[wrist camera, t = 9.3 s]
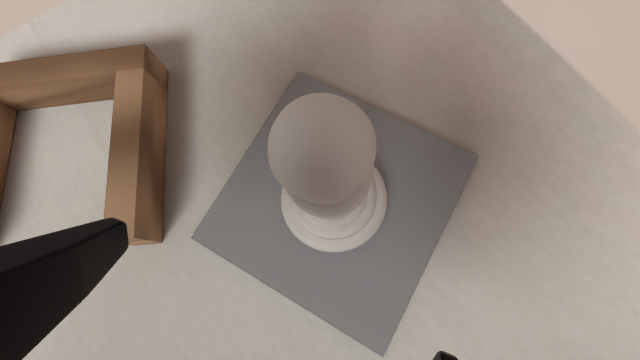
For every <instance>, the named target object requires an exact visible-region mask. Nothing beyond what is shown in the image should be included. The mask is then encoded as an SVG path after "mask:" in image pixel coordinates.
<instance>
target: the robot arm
mask: <svg viewBox="0 0 640 360" xmlns="http://www.w3.org/2000/svg"><path fill="white" fill-rule="evenodd" d="M128 245H129V240H128V231H127V225H126V223H125V222H124V221H121V220H119V219H116V218H106V219H102V220H99V221H95V222H91V223H87V224H83V225H80V226H76V227H72V228H68V229H64V230H61V231H57V232H53V233H49V234H45V235H41V236H38V237H34V238H30V239H26V240H22V241H19V242H15V243H11V244H7V245H3V246H0V360H22V359H23V358H24V357H25V356H26V355H27V354H28V353H29V352H30V351H31V350H32V349H33V348H34V347H35V346H37V345H38V344H39V343H40V342H41V341H42V340H43V339H44V338H45V337H46V336H47V335H48V334H49V333H50V332H51V331H52V330H53V329H54V328H55V327H56V326H57V325H58V324H59V323H60V322H61V321H62V320H63V319H64V318H65V317H66V316H67V315H68V314H69V313H70V312H71V311H72V310H73V309H74V308H75V307H77V306H78V305H79V304H80V303H81V302H82V301H83V300H84V299H85V298H86V296H87V295H88V294H89V293H90V292H91V291H92V290H93V289H94V288H95V287H96V285H97V284H98V283H99V282H100V281H101V280H102V278H103V277H104V276H105V275H106V274H107V273H108V271H109V270H110V269H111V268H112V267H113V266H114V264H115V263H116V262H117V261H118V260H119V259H120V257H121V256H122V255H123V254H124V253H125V251H126V250H127V248H128ZM433 360H458V359H457V358H456V357H455V356H453V355H451V354H448V353H446V352H444V351H439V352H438V353H437V354H436V356H435V357H434V359H433Z"/></svg>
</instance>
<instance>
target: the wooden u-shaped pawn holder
mask: <svg viewBox="0 0 640 360" xmlns="http://www.w3.org/2000/svg"><path fill="white" fill-rule="evenodd" d="M167 89H168V70H167V69H166V68H165V67H164V66H163V65H162V63H161V62H160V61H159V60H158V59H157V58H156V56H155V55H154V54H153V53H152V52H151V51H150V50H149V48H148V47H147V46H146V45H145V44H143V45H135V46H128V47H120V48H112V49H104V50H96V51H89V52H81V53H73V54H65V55H58V56H50V57H42V58H34V59H27V60H19V61H11V62H3V63H0V207H1V201H2V195H3V189H4V184H5V178H6V172H7V166H8V160H9V155H10V149H11V143H12V137H13V131H14V125H15V120H16V114H17V111H21V110H29V109H37V108H45V107H53V106H61V105H70V104H78V103H86V102H94V101H102V100H110V99H114V104H113V115H112V127H111V139H110V151H109V163H108V175H107V186H106V198H105V210H104V219H106V218H116V219H119V220H121V221H124V222H125V223H126V225H127V231H128V240H129V245H144V244H154V243H162V230H163V202H164V174H165V145H166V117H167Z"/></svg>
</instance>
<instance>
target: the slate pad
mask: <svg viewBox="0 0 640 360" xmlns="http://www.w3.org/2000/svg"><path fill="white" fill-rule="evenodd" d="M313 93H330V94H335V95H338V96H341V97H344V98H346V99H348V100H350V101H351V102H353V103H354V104H356V105H357V106H358V107H360V108H361V109H362V110H363V111H364V112H365V114H366V115H367V116H368V118H369V119H370V121H371V123H372V125H373V128H374V131H375V135H376V145H377V147H376V157H375V161H374V167H375V168H376V169H377V170H378V172H379V173H380V175H381V177H382V179H383V181H384V184H385V187H386V192H387V209H386V213H385V217H384V219H383V222H382V224H381V226H380V227H379V229H378V230H377V232H376V233H375V234H374V235H373V236H372V237H371V238H370V239H369V240H368V241H367V242H365V243H364V244H362V245H360V246H359V247H357V248H354V249H352V250H348V251H344V252H337V253H336V252H323V251H319V250H316V249H313V248H311V247H309V246H307V245H306V244H304V243H302V242H301V241H300V240H299V239H298V238H297V237H296V236H295V235H294V234H293V233H292V232H291V230H290V229H289V228H288V226H287V224H286V222H285V219H284V217H283V213H282V209H281V193H282V188H283V186H282V185H281V184H280V183H279V182H278V180H277V179H276V178H275V176H274V174H273V172H272V170H271V168H270V165H269V160H268V140H269V135H270V131H271V128H272V126H273V124H274V122H275V120H276V118H277V117H278V115H279V114H280V112H281V111H282V110H283V109H284V108H285V107H286V106H287V105H288V104H289V103H291V102H292V101H294V100H295V99H297V98H299V97H301V96H304V95H308V94H313ZM478 157H479V156H478V155H476V154H474V153H472V152H470V151H468V150H465V149H463V148H461V147H459V146H457V145H455V144H453V143H450V142H448V141H446V140H444V139H442V138H440V137H437V136H435V135H433V134H431V133H429V132H427V131H425V130H422V129H420V128H418V127H416V126H414V125H412V124H410V123H407V122H405V121H403V120H401V119H399V118H397V117H395V116H392V115H390V114H388V113H386V112H384V111H382V110H379V109H377V108H375V107H373V106H371V105H369V104H367V103H364V102H362V101H360V100H358V99H356V98H354V97H352V96H349V95H347V94H345V93H343V92H341V91H339V90H337V89H334V88H332V87H330V86H328V85H326V84H324V83H321V82H319V81H317V80H315V79H313V78H311V77H309V76H306V75H304V74H302V73H300V72H298V73H297V75H296V76H295V78H294V79H293V81H292V83H291V84H290V86H289V87H288V89H287V90H286V92H285V93H284V95H283V96H282V98H281V100H280V101H279V103H278V104H277V106H276V107H275V109H274V110H273V112H272V113H271V115H270V117H269V118H268V120H267V121H266V123H265V124H264V126H263V127H262V129H261V130H260V132H259V134H258V135H257V137H256V138H255V140H254V141H253V143H252V144H251V146H250V147H249V149H248V151H247V152H246V154H245V155H244V157H243V158H242V160H241V161H240V163H239V164H238V166H237V168H236V169H235V171H234V172H233V174H232V175H231V177H230V178H229V180H228V181H227V183H226V185H225V186H224V188H223V189H222V191H221V192H220V194H219V195H218V197H217V198H216V200H215V202H214V203H213V205H212V206H211V208H210V209H209V211H208V212H207V214H206V215H205V217H204V219H203V220H202V222H201V223H200V225H199V226H198V228H197V229H196V231H195V232H194V234H193V236H192V237H191V238H192V239H194V240H195V241H197V242H198V243H200V244H202V245H203V246H205V247H207V248H208V249H210V250H211V251H213V252H215V253H216V254H218V255H219V256H221V257H223V258H224V259H226V260H228V261H229V262H231V263H232V264H234V265H236V266H237V267H239V268H240V269H242V270H244V271H245V272H247V273H248V274H250V275H252V276H253V277H255V278H257V279H258V280H260V281H261V282H263V283H265V284H266V285H268V286H269V287H271V288H273V289H274V290H276V291H278V292H279V293H281V294H282V295H284V296H286V297H287V298H289V299H290V300H292V301H294V302H295V303H297V304H298V305H300V306H302V307H303V308H305V309H307V310H308V311H310V312H311V313H313V314H315V315H316V316H318V317H319V318H321V319H323V320H324V321H326V322H327V323H329V324H331V325H332V326H334V327H336V328H337V329H339V330H340V331H342V332H344V333H345V334H347V335H348V336H350V337H352V338H353V339H355V340H357V341H358V342H360V343H361V344H363V345H365V346H366V347H368V348H369V349H371V350H373V351H374V352H376V353H377V354H379V355H381V356H382V357H383V356H384V354H385V352H386V350H387V348H388V346H389V343H390V341H391V339H392V337H393V335H394V333H395V331H396V329H397V327H398V325H399V322H400V320H401V318H402V316H403V314H404V312H405V310H406V308H407V306H408V304H409V301H410V299H411V297H412V295H413V293H414V291H415V289H416V287H417V285H418V283H419V280H420V278H421V276H422V274H423V272H424V270H425V268H426V266H427V264H428V262H429V259H430V257H431V255H432V253H433V251H434V249H435V247H436V245H437V243H438V241H439V238H440V236H441V234H442V232H443V230H444V228H445V226H446V224H447V222H448V220H449V218H450V215H451V213H452V211H453V209H454V207H455V205H456V203H457V201H458V199H459V197H460V194H461V192H462V190H463V188H464V186H465V184H466V182H467V180H468V178H469V176H470V173H471V171H472V169H473V167H474V165H475V163H476V161H477V159H478Z"/></svg>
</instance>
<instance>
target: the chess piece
mask: <svg viewBox="0 0 640 360" xmlns="http://www.w3.org/2000/svg"><path fill="white" fill-rule="evenodd" d="M376 147H377V145H376V135H375V131H374V128H373V125H372V123H371V121H370V119H369V118H368V116H367V115H366V114H365V112H364V111H363V110H362V109H361V108H360V107H358V106H357V105H356V104H354V103H353V102H351V101H350V100H348V99H346V98H344V97H341V96H338V95H335V94H330V93H313V94H308V95H304V96H301V97H299V98H297V99H295V100H294V101H292V102H291V103H289V104H288V105H287V106H286V107H285V108H284V109H283V110H282V111H281V112H280V114H279V115H278V117H277V118H276V120H275V122H274V124H273V126H272V128H271V131H270V135H269V140H268V160H269V165H270V168H271V170H272V172H273V174H274V176H275V178H276V179H277V180H278V182H279V183H280V184H281V185H282V186H283V188H282V193H281V209H282V213H283V217H284V219H285V222H286V224H287V226H288V228H289V229H290V230H291V232H292V233H293V234H294V235H295V236H296V237H297V238H298V239H299V240H300V241H301V242H302V243H304V244H306V245H307V246H309V247H311V248H313V249H316V250H319V251H323V252H336V253H337V252H344V251H348V250H352V249H354V248H357V247H359V246H360V245H362V244H364V243H365V242H367V241H368V240H369V239H370V238H371V237H372V236H373V235H374V234H375V233H376V232H377V230H378V229H379V227H380V226H381V224H382V222H383V219H384V217H385V213H386V209H387V192H386V187H385V184H384V181H383V179H382V177H381V175H380V173H379V172H378V170H377V169H376V168H375V167H374V161H375V157H376Z"/></svg>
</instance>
